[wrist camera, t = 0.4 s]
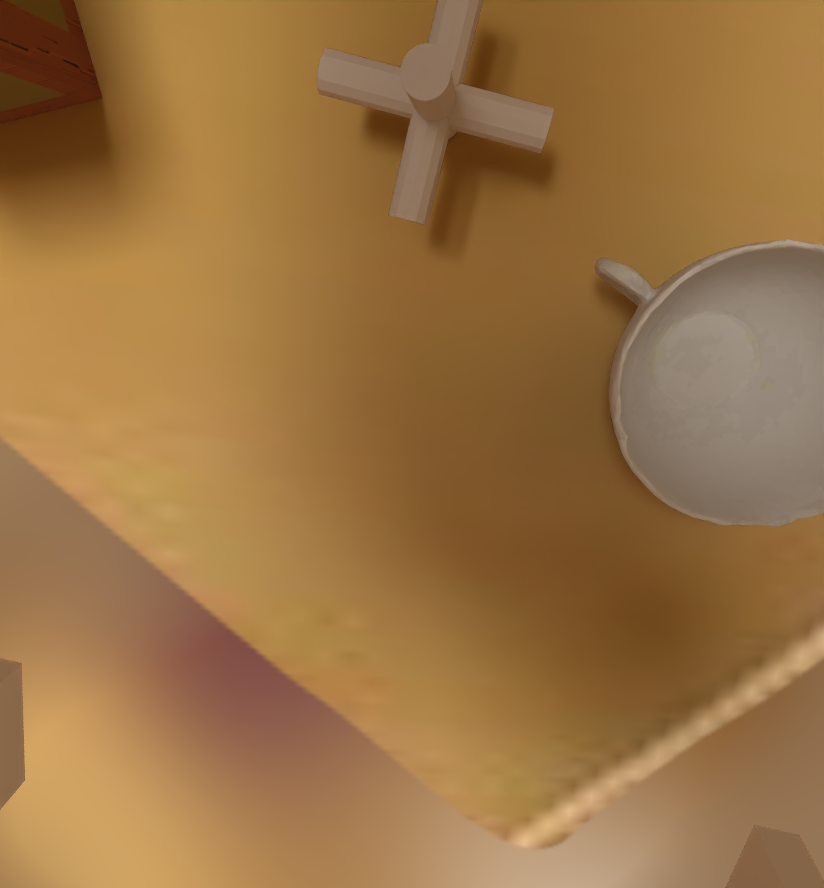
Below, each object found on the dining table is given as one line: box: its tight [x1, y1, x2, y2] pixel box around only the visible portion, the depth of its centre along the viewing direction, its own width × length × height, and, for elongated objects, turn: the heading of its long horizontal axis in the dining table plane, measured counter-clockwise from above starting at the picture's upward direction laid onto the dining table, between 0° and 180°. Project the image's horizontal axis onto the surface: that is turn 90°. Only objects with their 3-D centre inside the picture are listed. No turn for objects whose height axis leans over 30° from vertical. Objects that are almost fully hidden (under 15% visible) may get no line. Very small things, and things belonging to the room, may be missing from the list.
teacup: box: [595, 239, 824, 527], centre depth 30 cm, size 15×12×8 cm
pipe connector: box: [317, 0, 554, 225], centre depth 27 cm, size 10×10×10 cm
